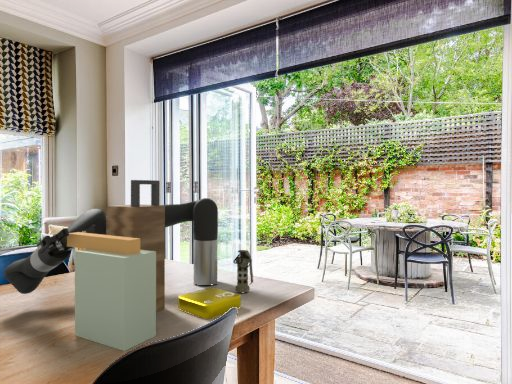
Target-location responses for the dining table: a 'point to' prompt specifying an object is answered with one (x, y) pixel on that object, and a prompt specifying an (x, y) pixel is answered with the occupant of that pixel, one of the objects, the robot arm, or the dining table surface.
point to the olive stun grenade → (243, 271)
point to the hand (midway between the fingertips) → (81, 229)
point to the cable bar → (104, 243)
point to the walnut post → (142, 235)
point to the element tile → (209, 302)
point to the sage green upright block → (115, 297)
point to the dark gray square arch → (136, 192)
